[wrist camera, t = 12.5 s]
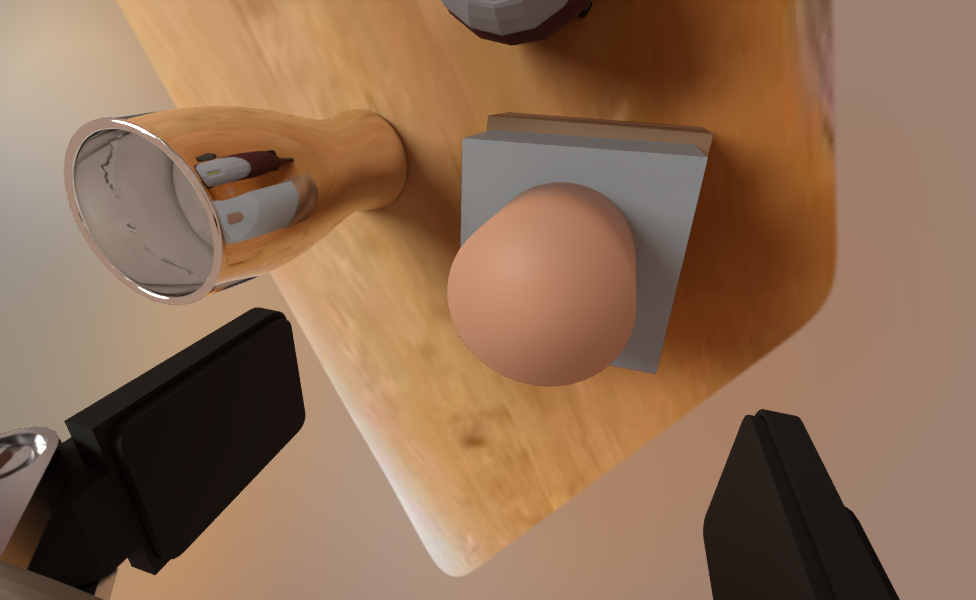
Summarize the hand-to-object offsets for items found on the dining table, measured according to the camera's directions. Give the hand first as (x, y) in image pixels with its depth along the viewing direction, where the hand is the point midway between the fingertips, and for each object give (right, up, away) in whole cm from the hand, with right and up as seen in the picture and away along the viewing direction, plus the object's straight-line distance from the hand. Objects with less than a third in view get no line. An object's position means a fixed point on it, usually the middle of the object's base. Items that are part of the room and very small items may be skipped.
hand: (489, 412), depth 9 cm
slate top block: (+4, +6, +13) cm, 15 cm away
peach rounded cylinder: (+3, +4, +9) cm, 11 cm away
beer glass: (-8, +11, +20) cm, 24 cm away
